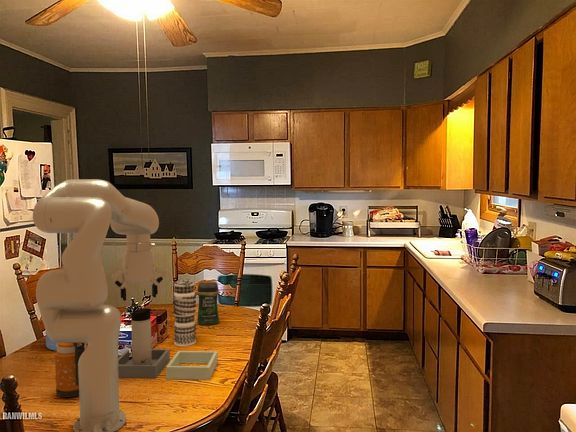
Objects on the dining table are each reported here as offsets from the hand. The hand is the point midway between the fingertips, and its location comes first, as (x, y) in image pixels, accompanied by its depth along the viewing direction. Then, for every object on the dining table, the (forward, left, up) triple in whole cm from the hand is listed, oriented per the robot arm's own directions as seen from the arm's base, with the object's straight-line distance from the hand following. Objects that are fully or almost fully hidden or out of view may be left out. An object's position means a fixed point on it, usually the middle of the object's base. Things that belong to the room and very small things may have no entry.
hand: (139, 298), depth 149 cm
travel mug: (0, -1, -24) cm, 24 cm away
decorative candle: (+18, -20, -25) cm, 37 cm away
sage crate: (-10, -15, -24) cm, 30 cm away
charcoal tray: (0, 0, -24) cm, 24 cm away
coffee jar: (+38, -36, -25) cm, 58 cm away
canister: (-9, +21, -25) cm, 33 cm away
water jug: (+38, +21, -25) cm, 50 cm away
